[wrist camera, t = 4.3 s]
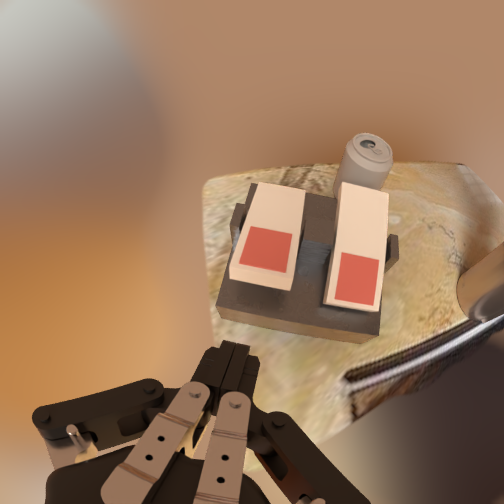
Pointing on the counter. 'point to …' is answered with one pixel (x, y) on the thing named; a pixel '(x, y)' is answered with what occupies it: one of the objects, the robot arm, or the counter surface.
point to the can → (364, 162)
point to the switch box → (301, 283)
